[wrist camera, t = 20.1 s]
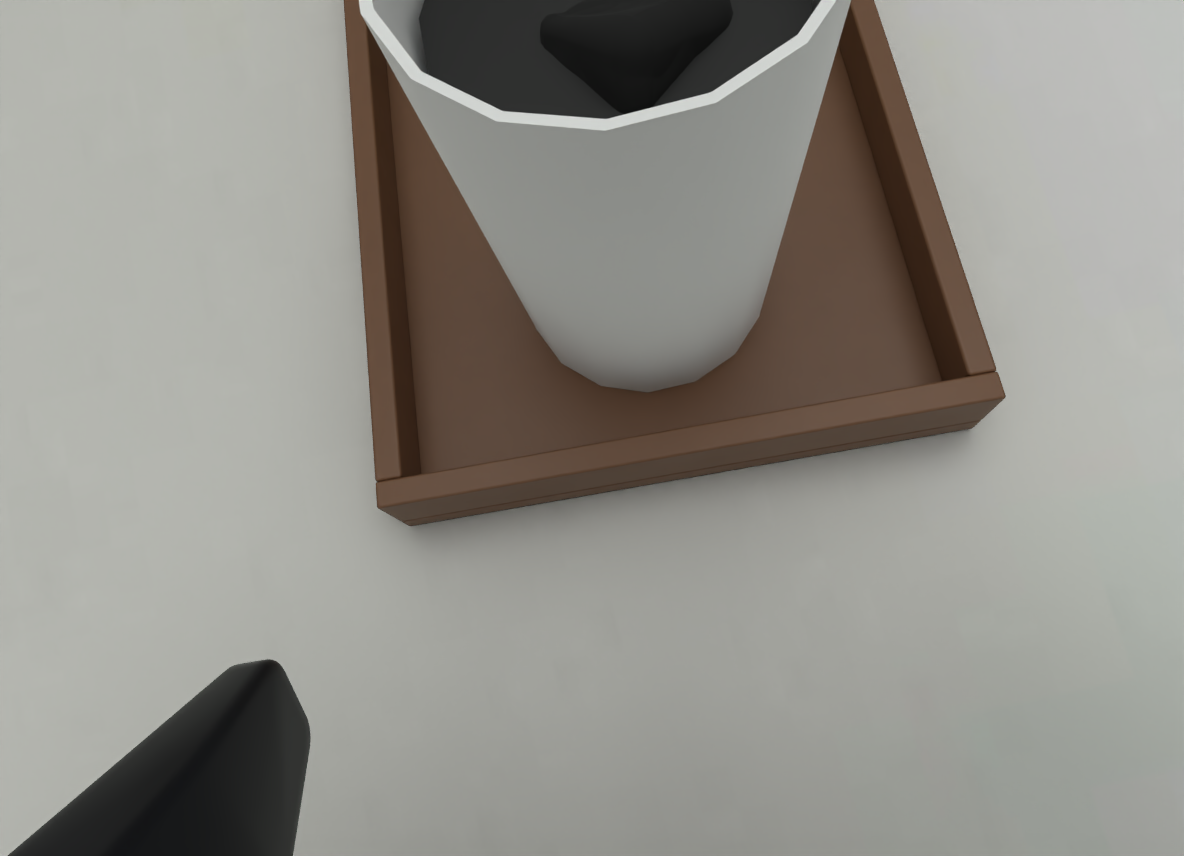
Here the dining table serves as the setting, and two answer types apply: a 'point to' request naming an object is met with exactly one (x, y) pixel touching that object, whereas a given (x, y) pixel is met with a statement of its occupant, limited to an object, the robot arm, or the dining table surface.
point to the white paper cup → (622, 159)
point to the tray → (685, 412)
